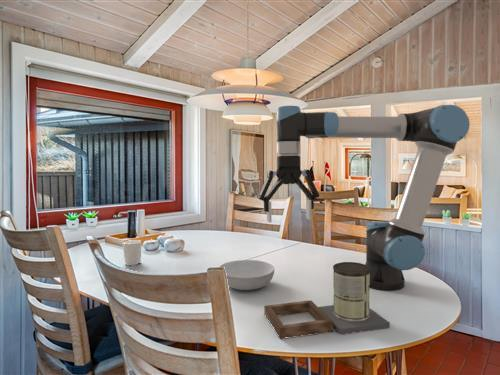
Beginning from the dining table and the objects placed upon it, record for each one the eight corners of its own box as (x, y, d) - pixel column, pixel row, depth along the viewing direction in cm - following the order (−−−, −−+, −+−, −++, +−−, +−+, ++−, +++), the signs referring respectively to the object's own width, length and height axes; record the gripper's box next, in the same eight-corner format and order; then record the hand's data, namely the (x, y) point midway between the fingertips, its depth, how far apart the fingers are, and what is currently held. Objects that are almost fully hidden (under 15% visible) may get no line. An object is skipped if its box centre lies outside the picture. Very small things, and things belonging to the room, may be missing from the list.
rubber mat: (360, 306, 116) (360, 301, 116) (389, 327, 102) (389, 322, 102) (316, 311, 113) (316, 307, 113) (339, 334, 98) (339, 329, 98)
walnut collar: (311, 309, 115) (310, 300, 114) (332, 331, 100) (332, 321, 100) (264, 315, 111) (264, 305, 111) (280, 339, 97) (280, 328, 96)
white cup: (136, 266, 163) (135, 244, 162) (120, 265, 165) (119, 243, 164) (145, 261, 171) (144, 240, 170) (129, 260, 172) (128, 239, 171)
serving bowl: (212, 295, 128) (211, 276, 127) (224, 276, 148) (224, 259, 148) (272, 297, 125) (272, 277, 124) (276, 277, 146) (276, 260, 145)
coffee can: (329, 307, 112) (329, 262, 111) (362, 306, 113) (362, 261, 112) (338, 322, 102) (338, 273, 101) (375, 321, 103) (376, 272, 101)
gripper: (319, 154, 125) (319, 216, 127) (248, 155, 120) (249, 220, 121) (329, 154, 118) (329, 219, 120) (253, 155, 112) (255, 224, 114)
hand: (289, 220), depth 121 cm, fingers open, 13 cm apart
